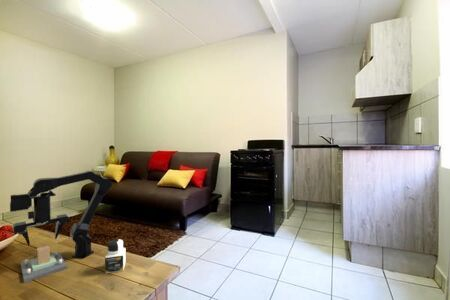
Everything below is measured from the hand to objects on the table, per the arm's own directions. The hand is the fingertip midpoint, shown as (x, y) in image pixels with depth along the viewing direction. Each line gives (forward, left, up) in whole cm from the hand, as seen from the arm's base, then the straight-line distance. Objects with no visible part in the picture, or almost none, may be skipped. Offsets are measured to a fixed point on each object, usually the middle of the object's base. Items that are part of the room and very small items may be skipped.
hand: (42, 242), depth 98 cm
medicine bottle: (-32, -7, -11) cm, 35 cm away
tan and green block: (0, 0, -10) cm, 10 cm away
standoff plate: (0, 0, -11) cm, 11 cm away
